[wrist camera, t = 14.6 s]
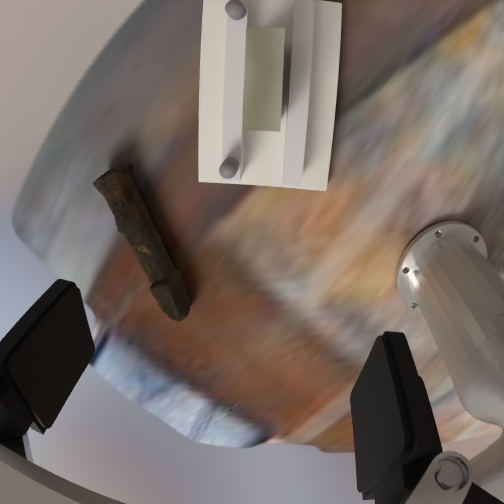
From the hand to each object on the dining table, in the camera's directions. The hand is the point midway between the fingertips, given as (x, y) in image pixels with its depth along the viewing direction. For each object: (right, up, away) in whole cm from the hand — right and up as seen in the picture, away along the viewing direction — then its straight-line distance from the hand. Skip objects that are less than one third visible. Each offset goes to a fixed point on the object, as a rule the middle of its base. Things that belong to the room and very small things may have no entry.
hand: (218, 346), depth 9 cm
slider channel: (+3, +18, +18) cm, 25 cm away
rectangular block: (+2, +18, +16) cm, 24 cm away
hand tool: (-9, +4, +26) cm, 28 cm away
